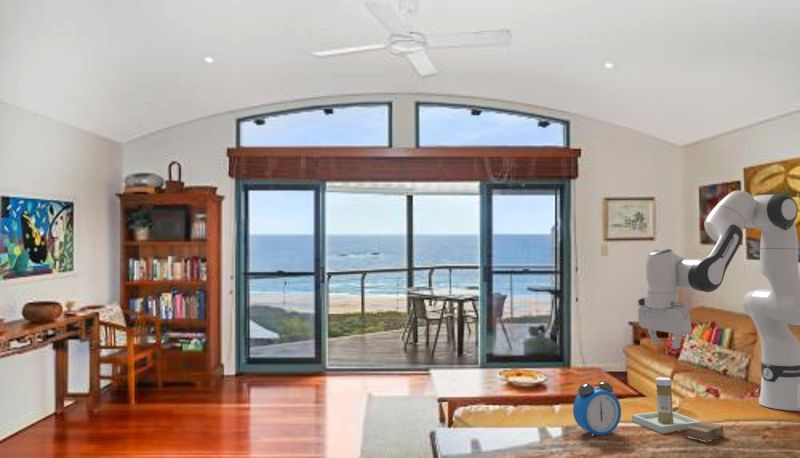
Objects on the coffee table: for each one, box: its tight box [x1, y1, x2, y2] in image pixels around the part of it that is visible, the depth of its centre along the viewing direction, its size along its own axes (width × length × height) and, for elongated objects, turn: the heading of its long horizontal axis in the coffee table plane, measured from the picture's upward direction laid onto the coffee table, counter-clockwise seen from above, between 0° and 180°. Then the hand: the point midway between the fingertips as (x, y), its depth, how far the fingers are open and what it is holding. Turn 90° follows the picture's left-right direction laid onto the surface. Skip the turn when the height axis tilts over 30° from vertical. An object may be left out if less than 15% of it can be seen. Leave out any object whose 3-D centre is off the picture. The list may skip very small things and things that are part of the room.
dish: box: [631, 411, 701, 434], centre depth 188 cm, size 14×14×2 cm
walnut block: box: [685, 420, 724, 441], centre depth 175 cm, size 9×6×3 cm, turn 125°
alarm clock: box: [572, 381, 622, 436], centre depth 182 cm, size 13×6×15 cm, turn 107°
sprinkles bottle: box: [655, 376, 674, 424], centre depth 189 cm, size 5×5×14 cm
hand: (665, 345), depth 190 cm, fingers open, 8 cm apart
